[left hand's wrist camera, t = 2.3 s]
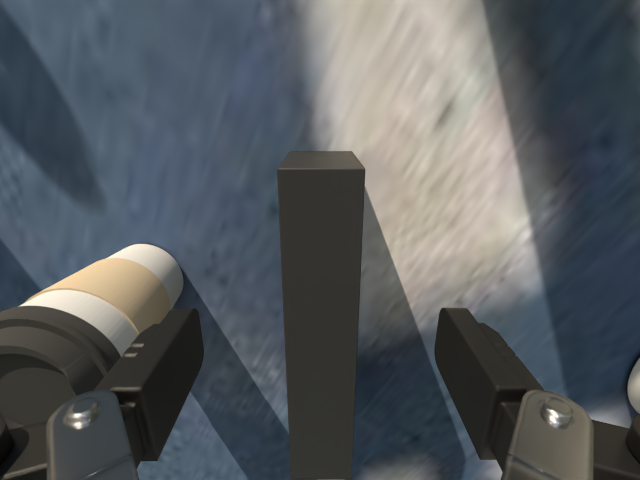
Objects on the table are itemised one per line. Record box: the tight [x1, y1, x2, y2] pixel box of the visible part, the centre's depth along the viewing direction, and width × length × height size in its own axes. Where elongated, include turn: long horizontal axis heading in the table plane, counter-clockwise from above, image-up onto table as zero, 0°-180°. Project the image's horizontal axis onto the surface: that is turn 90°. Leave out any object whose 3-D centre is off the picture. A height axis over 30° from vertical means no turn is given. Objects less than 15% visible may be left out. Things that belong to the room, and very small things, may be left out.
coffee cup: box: [0, 244, 183, 430], centre depth 26 cm, size 9×9×15 cm
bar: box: [277, 151, 365, 479], centre depth 29 cm, size 27×5×9 cm, turn 0°
